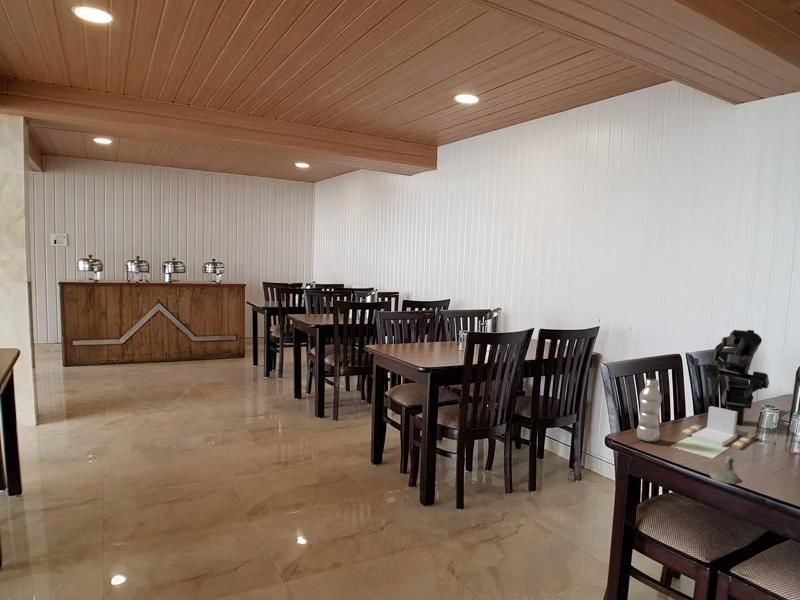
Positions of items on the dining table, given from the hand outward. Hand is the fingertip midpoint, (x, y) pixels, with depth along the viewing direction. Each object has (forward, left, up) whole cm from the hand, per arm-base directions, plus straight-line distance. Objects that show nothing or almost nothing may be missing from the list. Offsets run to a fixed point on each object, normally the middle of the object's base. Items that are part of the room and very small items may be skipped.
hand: (729, 394), depth 179 cm
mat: (+27, 0, -13) cm, 30 cm away
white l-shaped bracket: (+13, 0, -13) cm, 19 cm away
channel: (+12, 0, -13) cm, 18 cm away
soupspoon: (+42, +11, -14) cm, 45 cm away
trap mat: (-1, 0, -13) cm, 13 cm away
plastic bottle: (+35, -13, -14) cm, 40 cm away
